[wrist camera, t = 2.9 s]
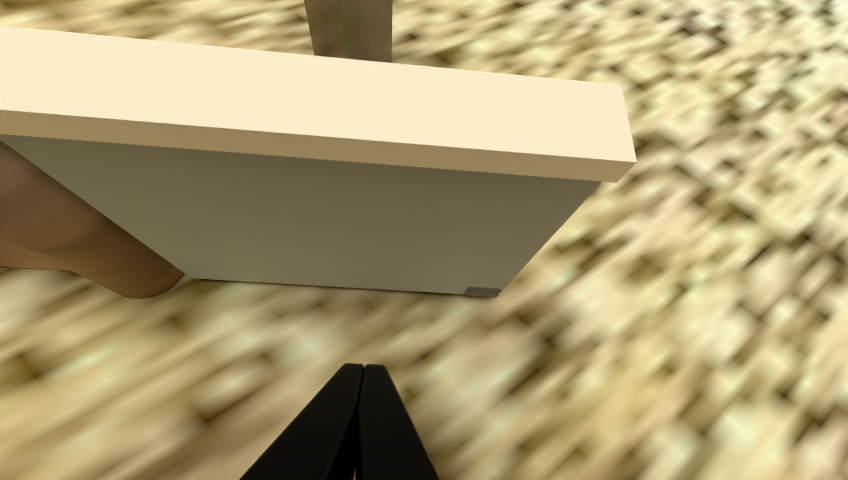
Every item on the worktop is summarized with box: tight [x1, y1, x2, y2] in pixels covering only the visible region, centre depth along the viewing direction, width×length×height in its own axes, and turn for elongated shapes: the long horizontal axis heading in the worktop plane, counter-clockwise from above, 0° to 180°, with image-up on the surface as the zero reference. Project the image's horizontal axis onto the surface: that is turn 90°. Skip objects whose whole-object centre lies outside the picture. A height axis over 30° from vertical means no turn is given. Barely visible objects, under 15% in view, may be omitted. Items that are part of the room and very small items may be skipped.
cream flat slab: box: [0, 26, 637, 297], centre depth 12 cm, size 12×2×10 cm, turn 88°
